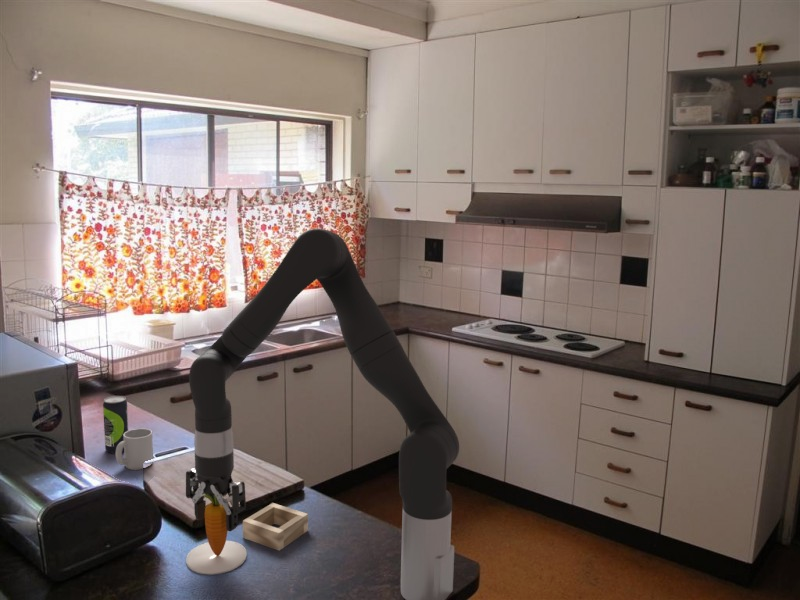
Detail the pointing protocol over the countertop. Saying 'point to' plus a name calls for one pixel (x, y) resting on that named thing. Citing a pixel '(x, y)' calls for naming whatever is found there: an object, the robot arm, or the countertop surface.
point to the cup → (135, 448)
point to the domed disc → (216, 558)
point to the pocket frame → (276, 538)
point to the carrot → (215, 525)
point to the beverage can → (115, 421)
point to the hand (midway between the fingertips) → (215, 524)
